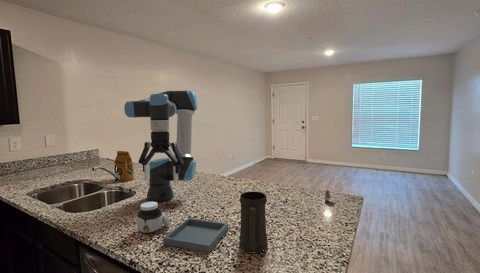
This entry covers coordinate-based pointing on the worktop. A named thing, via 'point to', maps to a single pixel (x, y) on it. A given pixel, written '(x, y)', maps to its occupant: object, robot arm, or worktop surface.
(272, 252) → the worktop surface
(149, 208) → the spread jar
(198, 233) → the tray
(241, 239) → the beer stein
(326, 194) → the architectural model
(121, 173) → the coffee package
